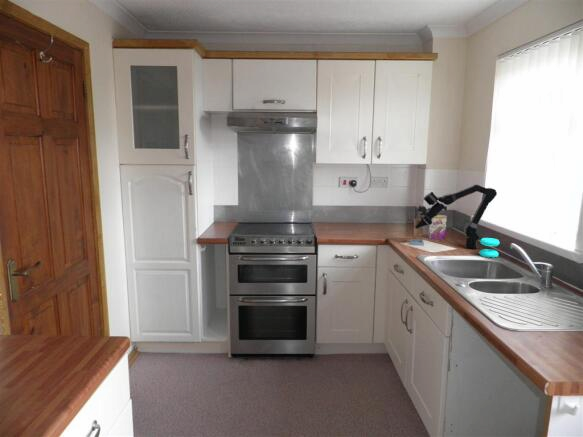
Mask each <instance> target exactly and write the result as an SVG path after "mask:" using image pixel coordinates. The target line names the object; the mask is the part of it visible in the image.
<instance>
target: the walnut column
mask: <svg viewBox="0 0 583 437" xmlns="http://www.w3.org/2000/svg"><path fill="white" fill-rule="evenodd" d="M420 221H421V218H419V217H417V218H416V217H414V219H413V232H412V234H413V237H422V232H423V231H422V230H423V229H422V228H423V226H422V227H419V228H416V226H417V225H418V223H419V222H420Z"/></svg>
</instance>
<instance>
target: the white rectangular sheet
mask: <svg viewBox="0 0 583 437" xmlns="http://www.w3.org/2000/svg"><path fill="white" fill-rule="evenodd" d="M422 240H423V242H424V246H419V245H411V244H410V241H409V242H406V241H405V242H400V244H401V245H403V246H404V245H405V246H407V247H411V248H415V249H419V250H422V251H426V252H430V253H437V252H438V253H439V252H445V251H446V252H447V251H452V250H457V248H455V247H452V246H448V245H444V244H440V243H436V242H432V241H429V240H425V239H422Z"/></svg>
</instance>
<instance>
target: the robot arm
mask: <svg viewBox="0 0 583 437" xmlns="http://www.w3.org/2000/svg"><path fill="white" fill-rule="evenodd" d="M476 192H478V193H480V194H482V197H481V201H480V203H479V205H478V206H477V209H476V211H475V213H473V216H472V217H471V219H470V221H469V222H465V224H464V226H463V228H462V229H463V230H462V231H463V234H464V235H466V241H465V242H466V243H465V245H464V248H465V249H469V250H477V249H480V247H478V241H479V239H480V236H479V235H478V234H477V230H478V224H479V222H480V220H481V219H482V217H483V216H484V213H485V211H486V209H487V208H488V206H489V204H490V203H491V202H492V201H493V200H494V199H495V198H496V196H497V194H498V193H497V190H496V189H494V188H491V187H483V186H482V185H479V184H473V185H471V186H469V187H466V188H464V189H462V190H461V189H460V190H459V191H456V192H454V193H449V194H448V193H447V194H444V195H442V196H438V197H437V195H435V193H434V192H432V191H431V192H428V194H426V195H425V196H424V197H423V201H425V202H426V204H427V205H429V206H431V207H428V208H426V206H424V205H418V207H417V209H416V210H417V211H418V212H420V213H419V217H418V218H421V221H420V222H419V223H418V225H417V226H416V228H419V227H422V228H423V227H425V226H429V225H431V224H432V218H434V217H435V216H437V215H438V214H439V213H440V212H442V211H443V210H444V211H445V212H447V211H448V206H449V205H451V204H453V203H454V202H456V201H457V200H459V199H461V198H464V197H466V196H469V195H472V194H473V193H476Z"/></svg>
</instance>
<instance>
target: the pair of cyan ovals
mask: <svg viewBox="0 0 583 437" xmlns="http://www.w3.org/2000/svg"><path fill="white" fill-rule="evenodd" d="M500 243H501V242H500V241H499V239H497V238H490V237H482V238H481V239H480V244H481V245H483V246H484V247H485V246H486V247H498V246H500ZM479 256H481V257H484V258H487V257H492V258H491V259H495V257H496V258H498V257H499V252H498V251H497V250H495V249H488V248H484V249H481V250H479Z"/></svg>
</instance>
